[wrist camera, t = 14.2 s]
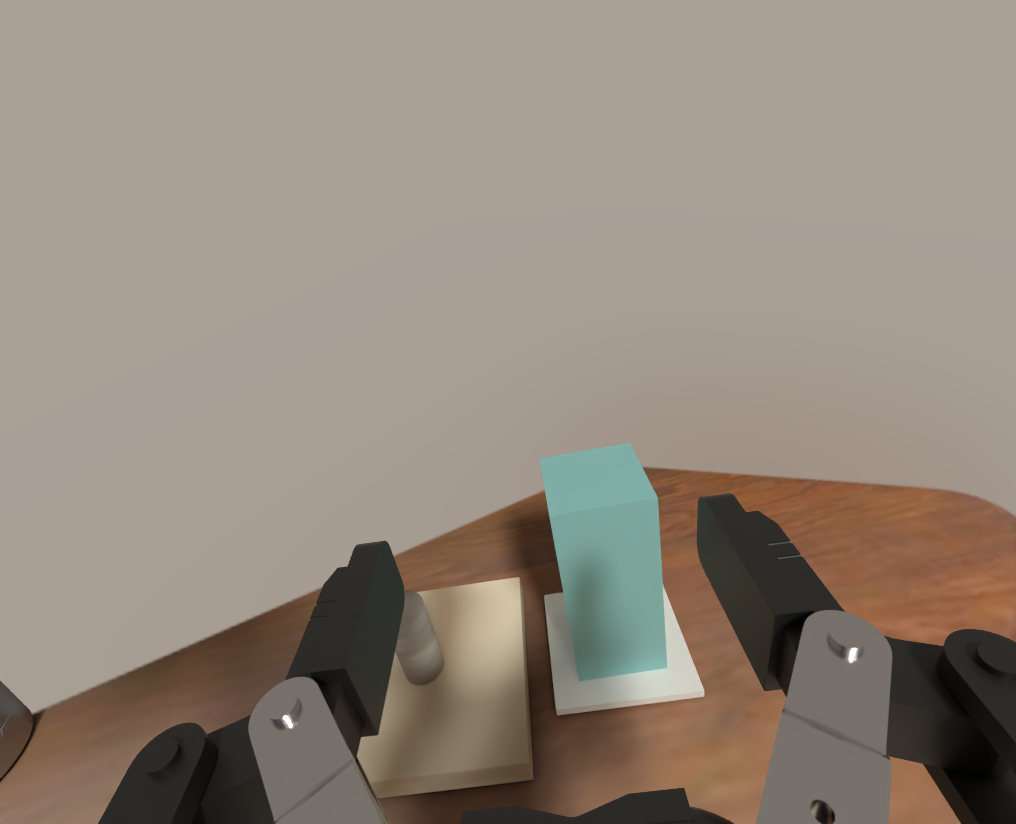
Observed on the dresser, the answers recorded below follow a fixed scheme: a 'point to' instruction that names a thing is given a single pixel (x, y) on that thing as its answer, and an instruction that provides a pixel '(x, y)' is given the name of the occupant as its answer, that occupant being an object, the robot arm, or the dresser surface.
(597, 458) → the tall teal pillar
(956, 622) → the dresser surface
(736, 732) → the dresser surface
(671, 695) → the mat
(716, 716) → the dresser surface
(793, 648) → the robot arm
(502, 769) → the post stand
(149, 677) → the dresser surface
